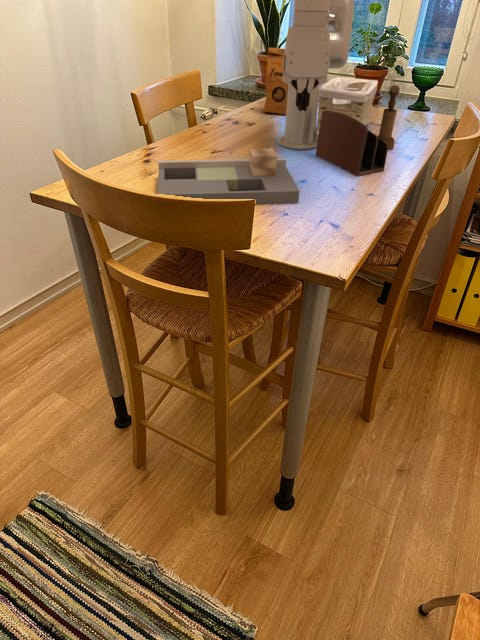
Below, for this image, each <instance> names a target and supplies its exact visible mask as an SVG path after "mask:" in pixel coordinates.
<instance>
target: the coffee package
mask: <svg viewBox="0 0 480 640" xmlns="http://www.w3.org/2000/svg"><path fill="white" fill-rule="evenodd" d="M284 51H285V48H280V47H279V48H277V47H268V48H267V59H266V60H267V61H266V72H265V102H264V105H263V107H264V108H263V111H264V112H265V113H270V114H275V115H276V114H278V115H283V116H286V109H287V96H288V84H286V83H284V82H283V81H282V77H283V74H284V73H283V59H284Z"/></svg>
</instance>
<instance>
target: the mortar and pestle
mask: <svg viewBox="0 0 480 640" xmlns="http://www.w3.org/2000/svg"><path fill="white" fill-rule="evenodd" d="M400 89H401V88H400V86H399V85H397V84H394V85H391V86H390V87H389V89H388V94H389V96H390V97H389V100H388V103H387V104H388V105H387V107H388V108H384V109H383V111H382V112H383V113H382V119H381V123H380V128H379V132H378V135H376V136H377V137H379V138H381V139H382V140H384V141H385V142H386V143H387V144H388V150H393V149H394V146H395V143H396V140H395V139H394V137H392V135H393V131H394V130H393V129H394V126H395V121H396V116H397V109H395V107H396V104H397V101H396V98H397V96H398V95H399V93H400Z"/></svg>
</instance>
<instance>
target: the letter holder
mask: <svg viewBox="0 0 480 640" xmlns="http://www.w3.org/2000/svg"><path fill="white" fill-rule="evenodd" d="M377 136H378V135H376V134H375V133H373V132H372V131H370V130H369V129H368V127H367V125H366V126H365V125H364V124H362V123H361V122H359V121H357V120H356V119H354V118H352V117H350V116H347V115H345V114H342V113H339V112H334V111H328V110H325V111H323V112H322V116H321V123H320V128H319V135H318V141H317V147H315V148H316V149H315V156H316V157H319V158H321V159H322V160H325V161H326V162H328V163H330V164H331V165H334V166H335V167H338V168H339V169H342V170H343V171H346V172H347V173H349V174H352V175H353V176H356V177H361V176H367V175H372V174H377V173H381V172H384V171H385V167H386V162H387V156H388V151H389V149H388V144H387V143H386V142H385V141H384V140H382V139H381V138H379V137H377Z"/></svg>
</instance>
